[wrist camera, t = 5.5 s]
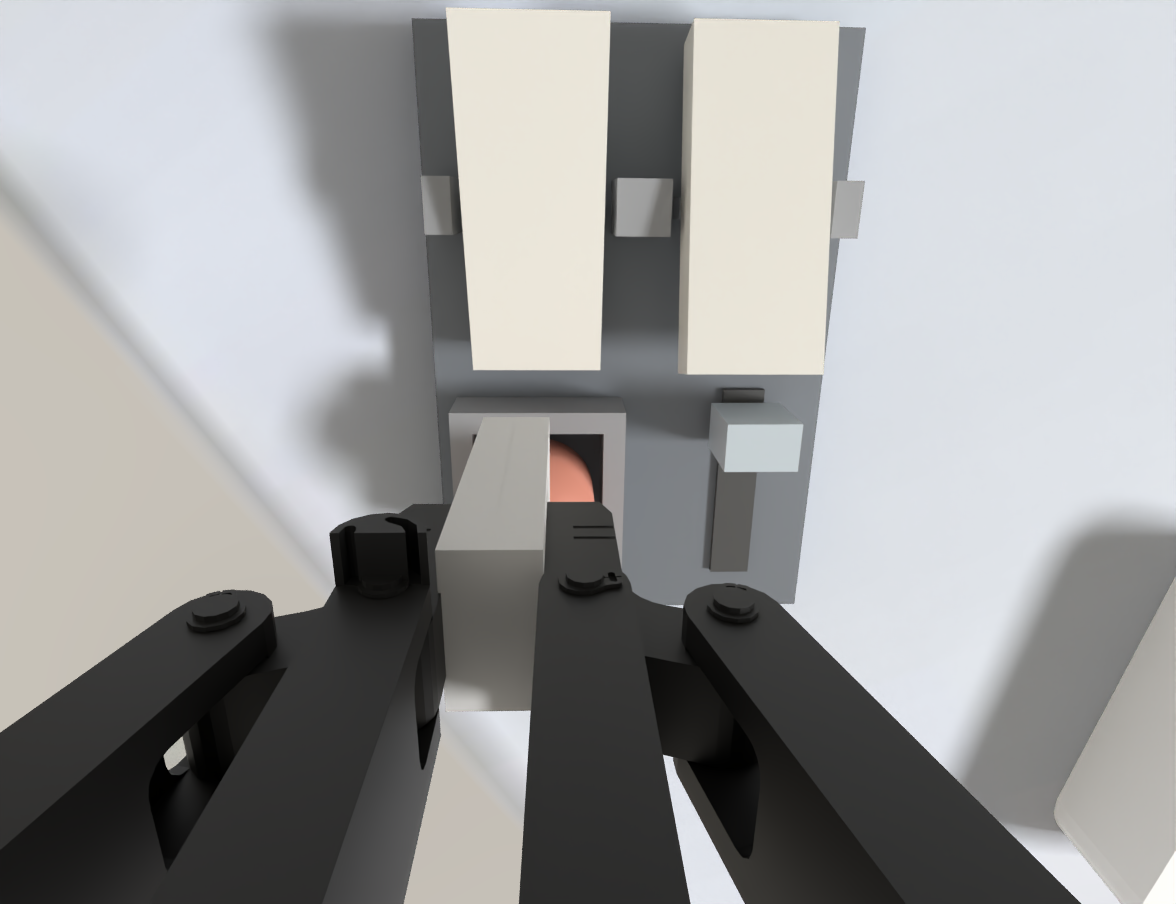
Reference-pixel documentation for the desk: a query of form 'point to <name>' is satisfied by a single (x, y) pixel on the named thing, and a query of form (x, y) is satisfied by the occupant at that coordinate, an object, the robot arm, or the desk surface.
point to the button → (568, 475)
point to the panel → (634, 338)
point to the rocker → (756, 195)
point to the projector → (1131, 775)
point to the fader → (755, 437)
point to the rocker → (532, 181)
